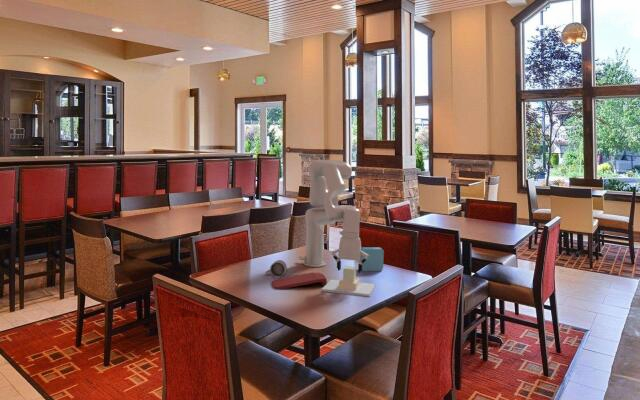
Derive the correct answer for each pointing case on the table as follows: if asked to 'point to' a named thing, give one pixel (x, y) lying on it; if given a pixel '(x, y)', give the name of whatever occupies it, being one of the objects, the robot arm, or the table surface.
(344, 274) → the cream block
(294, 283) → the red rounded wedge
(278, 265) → the ceramic mug
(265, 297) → the table surface
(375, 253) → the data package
